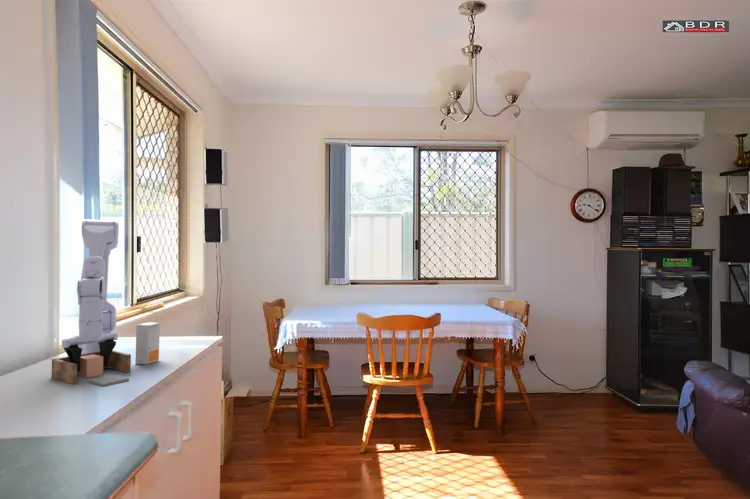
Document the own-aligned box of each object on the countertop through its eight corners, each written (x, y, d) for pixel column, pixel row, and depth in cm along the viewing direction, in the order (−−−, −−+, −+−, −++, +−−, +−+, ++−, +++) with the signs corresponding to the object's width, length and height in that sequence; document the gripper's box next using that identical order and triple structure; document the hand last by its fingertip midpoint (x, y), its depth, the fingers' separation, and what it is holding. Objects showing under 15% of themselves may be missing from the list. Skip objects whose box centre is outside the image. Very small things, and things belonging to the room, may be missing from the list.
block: (77, 374, 144) (77, 356, 144) (93, 371, 148) (93, 354, 148) (86, 377, 141) (87, 359, 141) (103, 374, 145) (103, 356, 145)
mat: (88, 381, 137) (88, 379, 137) (114, 376, 143) (114, 374, 143) (103, 386, 133) (103, 383, 133) (128, 380, 139) (128, 378, 139)
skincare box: (147, 364, 157) (148, 325, 156) (135, 364, 157) (135, 324, 157) (159, 360, 163) (160, 322, 162) (147, 359, 163) (148, 321, 163)
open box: (51, 377, 140) (51, 359, 140) (108, 366, 154) (109, 349, 154) (72, 384, 134) (73, 365, 134) (130, 371, 148) (130, 354, 148)
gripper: (71, 325, 136) (71, 376, 136) (123, 319, 148) (123, 366, 148) (57, 322, 140) (57, 372, 140) (109, 316, 152) (109, 362, 152)
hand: (90, 369), depth 145 cm, fingers open, 7 cm apart
